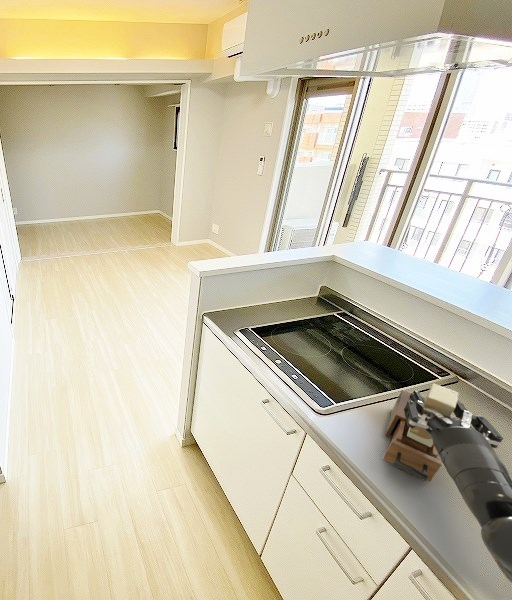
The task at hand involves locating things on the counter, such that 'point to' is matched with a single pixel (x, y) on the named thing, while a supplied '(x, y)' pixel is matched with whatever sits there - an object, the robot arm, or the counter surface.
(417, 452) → the drawer
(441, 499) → the counter surface
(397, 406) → the cabinet
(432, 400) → the cosmetic box
